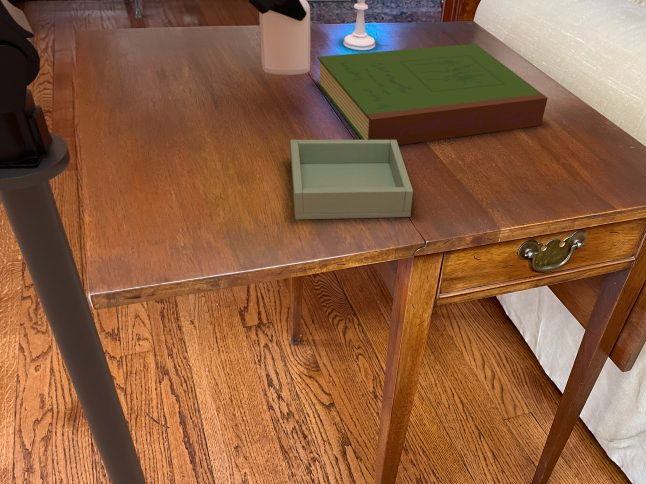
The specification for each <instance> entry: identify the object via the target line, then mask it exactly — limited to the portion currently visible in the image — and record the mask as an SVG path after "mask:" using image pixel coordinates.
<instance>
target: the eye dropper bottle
mask: <svg viewBox="0 0 646 484" xmlns="http://www.w3.org/2000/svg"><path fill="white" fill-rule="evenodd" d="M300 2H301V4H302V6H303V7H304V9H305V11H306V13H307V14H306V16H305V17H304V19H303V20H302V21H298V20H295V19H293V18H290V17H287V16H285V15H282V14H279V13H276V12H274V11H271V10H269V11H268V12H266V13H264V14H261V13H260V12H259V11H258V12H259V13H258V15H259V16H258V17H259V19H258V20H259V37H260V38H259V39H260V54H261V55H260V57H261V68H262V71H263V72H264V73H266V74H269V75H275V76H276V75H277V76H299V75H305V74H307V73H309V72H310V70H311V7H310V4H309V2H308V1H307V0H300Z"/></svg>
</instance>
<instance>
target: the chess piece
mask: <svg viewBox="0 0 646 484" xmlns="http://www.w3.org/2000/svg"><path fill="white" fill-rule="evenodd" d="M353 8H354V9H355V10H357V13H356V20H355V26H354V30H353V31H352V33H351V34H348V35H346V36H345V37H344V38H343V45H344V46H345V47H346V48H348V49H350V50H355V51H369V50H373V49H375V47H376V40H375V39H374V37H372V36H370V35H368V32H366V21H365V10H368V9H369V5H368V4H366V0H357V3H355V4H354V6H353Z"/></svg>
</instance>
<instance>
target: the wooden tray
mask: <svg viewBox="0 0 646 484" xmlns="http://www.w3.org/2000/svg"><path fill="white" fill-rule="evenodd" d="M290 165H291V166H290V167H291V180H292V182H291V183H292V193H293V196H292V197H293V209H294V210H293V211H294V220H296V221H297V220H332V219H334V220H335V219H336V220H337V219H339V220H340V219H377V218H378V219H379V218H381V219H382V218H411V216H412V215H411V214H412V206H413V204H412V203H413V197H414V190H413V186H412V184H411V181H410V180H411V179H410V176H409V174H408V171H407V168H406V165H405V162H404V158H403V156H402V153H401V149H400V145H398V143H397V140H361V139H290Z"/></svg>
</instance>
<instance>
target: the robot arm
mask: <svg viewBox="0 0 646 484" xmlns="http://www.w3.org/2000/svg"><path fill="white" fill-rule="evenodd" d="M246 1H247V2H248V3H249V4H250V5H251V6H252V7H253V8H254V9H255V10H257V11H258V12H260V13H261V14H264V13H266V12H268V11H269V10H271V11H274V12H276V13H279V14H282V15H285V16H287V17H290V18H293V19H295V20H298V21H302V20H303V19H304V17H305V16H306V14H307V13H306V11H305V9H304V7H303V6H302V4H301V2H300V0H246ZM33 38H35V34H34V32H33V30H32V27H31V26H30V23H29V21H28V19H27V18H26V15H25V13H24V11H23V10H21V9H19V8H18V7H17V6H14V5H13V4H12V3H11V2H10V1H9V0H0V169H34V168H37V167H39V166H40V163H41V161H42V159H43V157H44V155H45V154H46V153H47V151H48V149H49V147H50V145H51V143H52V136H51V135H50V133H49V132H50V130H49V127H48V124H47V120H46V117H45V113H44V110H43V107H42V106H41V105H39V104H36V103H35V99H34V96H33V93H32V89H30V88H28V87H29V86H30V85H31V84H33V82H34V81H35V80H36V79H37V78H38V75H39V73H40V70H41V57H40V55H39V52H38V50H37V47H36V45H35V43H34V40H33Z"/></svg>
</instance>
